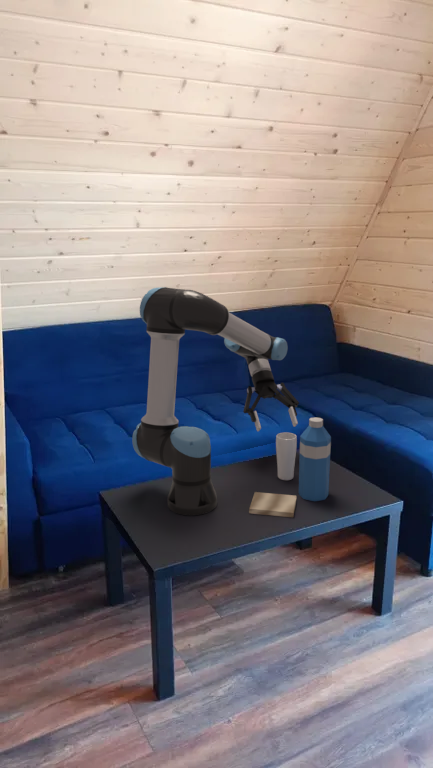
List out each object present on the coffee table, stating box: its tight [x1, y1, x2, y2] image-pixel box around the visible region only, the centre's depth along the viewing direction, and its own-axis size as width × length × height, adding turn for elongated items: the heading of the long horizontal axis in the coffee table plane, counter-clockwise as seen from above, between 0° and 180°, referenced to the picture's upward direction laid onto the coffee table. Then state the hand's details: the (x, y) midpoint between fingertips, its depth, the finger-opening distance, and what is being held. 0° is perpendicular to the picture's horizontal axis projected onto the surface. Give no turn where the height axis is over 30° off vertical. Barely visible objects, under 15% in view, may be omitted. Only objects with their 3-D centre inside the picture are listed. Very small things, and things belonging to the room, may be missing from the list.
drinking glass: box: [275, 431, 298, 481], centre depth 194 cm, size 7×7×15 cm
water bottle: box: [298, 417, 332, 502], centre depth 180 cm, size 9×9×25 cm
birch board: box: [248, 491, 298, 518], centre depth 176 cm, size 13×11×2 cm
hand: (277, 427), depth 200 cm, fingers open, 13 cm apart
